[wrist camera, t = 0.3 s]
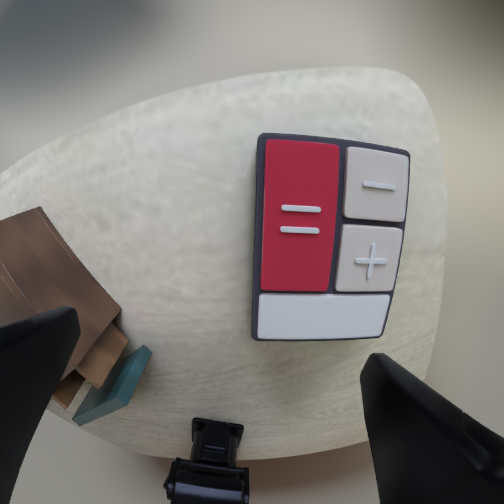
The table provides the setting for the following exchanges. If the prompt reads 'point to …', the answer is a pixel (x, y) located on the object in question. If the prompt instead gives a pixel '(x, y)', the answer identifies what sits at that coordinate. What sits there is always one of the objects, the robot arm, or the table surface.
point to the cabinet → (49, 279)
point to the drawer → (103, 377)
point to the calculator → (326, 237)
